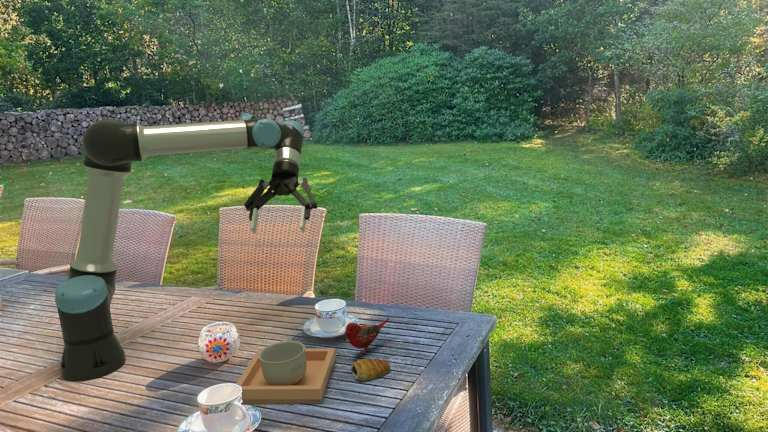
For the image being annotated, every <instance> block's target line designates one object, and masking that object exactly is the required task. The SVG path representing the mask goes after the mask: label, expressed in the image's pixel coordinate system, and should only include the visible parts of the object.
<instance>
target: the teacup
mask: <svg viewBox="0 0 768 432" xmlns="http://www.w3.org/2000/svg"><path fill="white" fill-rule="evenodd" d="M305 349H306V346H305V344H303V343H302V342H300V341H295V340H294V341H293V340H289V338H287V337H285V338H283V339H282V340H281V341H278V342H275V343H271V344H269V345H268V346H265V347H264V348H263V350H262V351H261V352H260V353H259V359H260V364H261V369H262V373H263V377H264V379H265V380H266V381H267V382H268V383H269V384H271V385H274V386H292V385H294V384H296V383H297V382H299V381H300V379H301V378H302V377H303V376H304V375H305V373H306V370H307V362H306V354H305Z"/></svg>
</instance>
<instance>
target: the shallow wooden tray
mask: <svg viewBox="0 0 768 432" xmlns="http://www.w3.org/2000/svg"><path fill="white" fill-rule="evenodd" d="M263 349H264V348H263ZM263 349H262V348H261V349H260V348H258V349H257V351H256V353H255V354H254V355H253V357H252V359H250V361H249V363H248V365H247V366H246V367H245V369H244V370H243V372H242V374H241V375H240V377H239V378H238V380H237V381H236V382H235V384H237V385H239V386H241V387H242V391H243V392H242V400H243V403H242V404H322V403H323V399H324V397H325V393H326V391H327V387H328V385H329V383H330V379H331V376H332V373H333V370H334V368H335V364H336V362H337V358H336V348H335V347H334V348H333V347H332V348H305V354H306V362H307V370H306V373H305V375H304V376H303V377H302V378H301V379H300V381H299V382H297V383H296V384H294V385H292V386H274V385H271V384H269V383H268V382H267V381H266V380H265V379H264V377H263V373H262V369H261V364H260V359H259V353H260V352H261V351H262V350H263Z"/></svg>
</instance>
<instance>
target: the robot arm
mask: <svg viewBox="0 0 768 432" xmlns="http://www.w3.org/2000/svg"><path fill="white" fill-rule="evenodd" d="M303 142H304V128H303V126H302V124H301V123H300V122H298V121H295V120H293V119H292V120H289V119H287V120H284V121H282V122H281V123H277V122H276V121H274V120H273V119H270V118H264V117H260V116H257V115H255V114H251V113H248V112H243V113H242V114H241V115H240V117H239V120H226V121H225V120H223V121H211V122H210V121H208V122H194V123H193V122H191V123H179V124H178V123H177V124H176V123H175V124H164V125H163V124H162V125H150V126H149V125H147V126H144V125H142V124H141V123H140V122H139V123H138V122H131V123H129V122H128V123H127V122H126V123H125V122H124V121H122V120H119V119H115V118H110V117H109V118H103V119H101V120H97V121H96V122H94V123H92V124H91V125H89V126H88V127H87V129H86V130H85V132H84V133H83V136H82V148H83V151H84V156H83V164H82V165H83V167H84V168H85V170H86V171H87V172H88V176H87V185H86V192H85V199H84V206H83V214H82V220H81V230H80V235H79V236H80V237H79V244H78V245H79V246H78V252H77V258H75V259H74V260H73V261H71V262H70V263H69V264H70V266H69V273H68V278H67V280H66V281H62V282H61V283H60V284H59V285H58V286H57V287H56V289H55V292H54V295H55V297H54V300H55V301H54V302H55V306H56V308H57V314H58V319H59V323H60V325H59V326H60V329H61V335H62V340H63V345H64V346H63V351H62V355H61V356H62V357H61V363H60V371H61V376H62V378H64V379H65V380H68V381H79V382H80V381H87V380H93V379H97V378H102V377H104V376H106V375H108V374H112V373H114V372H115V371H117V370H119V369H120V368H121V367H122V366H123V365H125V363H126V353H125V349H124V348H123V347H122V345H121V343H120V342H119V340H118V337H117V336H116V335H115V331H114V327H113V326H114V325H113V320H112V314H111V304H112V301H113V297H114V295H115V291H116V275H117V269H118V265H116V263H115V262H113V255H114V249H115V242H116V241H115V240H116V235H117V234H116V233H117V229H118V227H117V226H118V220H119V213H120V207H121V205H120V204H121V198H122V191H123V185H124V183H123V182H124V179H125V177H126V176H127V175H129V174H131V172H132V171H131V170H132V164H133V162H144V161H146V159H147V158H148V157H156V156H168V155H169V156H170V155H179V154H189V153H202V152H204V153H205V152H216V151H225V150H237V149H248V148H249V149H254V148H265V149H266V148H267V149H268V148H269V149H272V150H275V153H274V159H273V165H272V171H271V178H270V180H269V181H267V180H264V179H263V178H261V179H259V182H258V185H257V186H256V188H255V189H254V191H253V192H252V193H251V195H250V196H249V197H248V198H247V200H246V201H245V202H244V204H243V206H244V207H245V209H246V212H249V214H248V219H249V221H250V231H251V232H252V234H256V233H257V228H258V221H259V216H260V215H259V214H260V213H259V210H260V209H261V208H262V207H263V206H265V205H266V204H267V203H269V201H270V200H271V199H274V198H275V197H276V196H278V197H280V196H289V195H292V196H293V197H294V198H295V199H296V200H297V201H298V202H299V203H300V204H301V205H302V206H301V211H300V212H301V213H300V221H299V222H300V223H299V228H300V231H301V233H303V232H305V230H306V223H307V221H309V220H310V217H311V212H312V211H311V210H313V209H314V210H317V209H318V203H317V201H316V199H315V197H314V195H313V194H312V190H311V189H310V186H309V185H310V184H309V181H308V178H307V177H306V176H305V177H302V179H299V174H300V166H301V155H302V150H303ZM299 186H300V187H301V188H302V189H304V191H305V193H306V196H307V198H308V199H309V201H307V200H306V198H305V197H304V196H303V195H302V194H301V193H300V192H299V190H298V189H297V188H298V187H299ZM265 190H266V191H265Z"/></svg>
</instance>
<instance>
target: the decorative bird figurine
mask: <svg viewBox="0 0 768 432" xmlns="http://www.w3.org/2000/svg"><path fill="white" fill-rule="evenodd" d="M389 320H390V317H388V318H386V319H385V320H383V321H382V322H380V323H379V324H367V325H360V324H358V323H356V322H349V323H348V324H347V325H346V327H345V331H344V333H343V335H346V337H347V339H348V341H349V344H350V345H351V346H353V347H354V348H355V349H363V350H361V351H360V352H359V353H358V354H357V356H360V355H364V354H365V353H366V352H368V351H369V350H370V349H371V348H369V346H370V345H371V344H372V343H373V342H374V340H375V339H377V337H378V336H379V333H380V331H381V329H382V327H383V326H385V324H386V323H387V322H388V321H389Z"/></svg>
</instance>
